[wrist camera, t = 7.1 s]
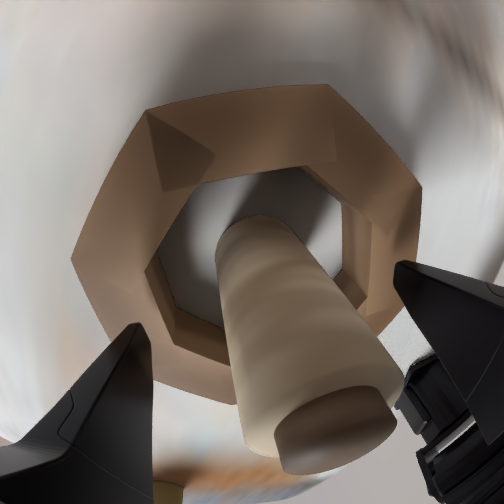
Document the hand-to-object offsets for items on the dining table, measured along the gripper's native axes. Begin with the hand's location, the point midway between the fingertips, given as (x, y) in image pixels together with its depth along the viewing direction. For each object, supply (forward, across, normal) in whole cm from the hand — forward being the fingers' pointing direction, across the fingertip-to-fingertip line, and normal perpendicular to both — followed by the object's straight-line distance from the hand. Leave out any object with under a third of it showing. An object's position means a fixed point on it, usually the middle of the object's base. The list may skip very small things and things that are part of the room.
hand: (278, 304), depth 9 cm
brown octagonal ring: (+4, 0, 0) cm, 4 cm away
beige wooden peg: (+4, 0, 0) cm, 4 cm away
